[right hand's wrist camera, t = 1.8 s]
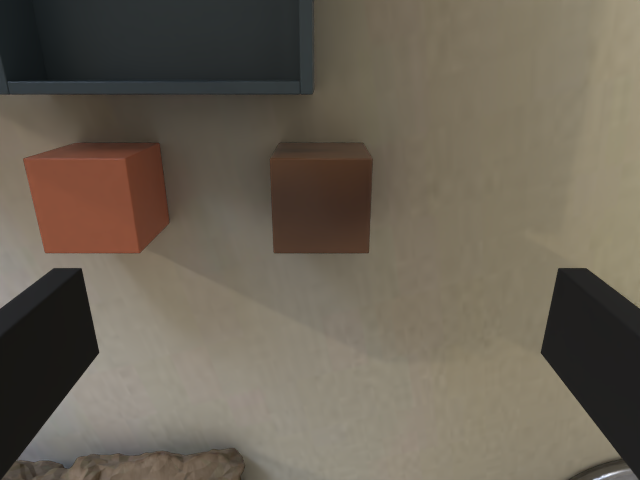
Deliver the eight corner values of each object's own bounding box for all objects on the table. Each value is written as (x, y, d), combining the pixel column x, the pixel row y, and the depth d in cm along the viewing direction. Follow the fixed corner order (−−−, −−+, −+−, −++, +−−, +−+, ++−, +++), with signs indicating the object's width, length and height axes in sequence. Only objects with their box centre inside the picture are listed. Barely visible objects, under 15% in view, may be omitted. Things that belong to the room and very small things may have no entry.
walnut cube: (360, 223, 28) (369, 253, 24) (281, 223, 28) (273, 253, 24) (363, 142, 26) (372, 158, 22) (278, 142, 26) (269, 158, 22)
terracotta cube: (169, 223, 28) (140, 253, 24) (90, 223, 28) (44, 253, 24) (159, 142, 26) (125, 158, 22) (75, 142, 27) (22, 158, 22)
